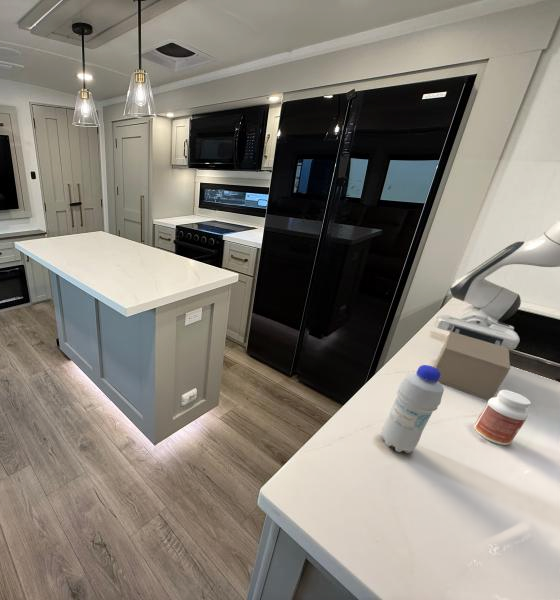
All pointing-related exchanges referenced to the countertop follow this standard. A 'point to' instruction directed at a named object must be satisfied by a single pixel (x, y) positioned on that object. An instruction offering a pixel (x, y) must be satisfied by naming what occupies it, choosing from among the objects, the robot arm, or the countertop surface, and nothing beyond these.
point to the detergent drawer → (477, 335)
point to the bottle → (412, 408)
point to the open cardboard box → (472, 365)
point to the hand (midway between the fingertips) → (473, 338)
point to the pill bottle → (502, 417)
